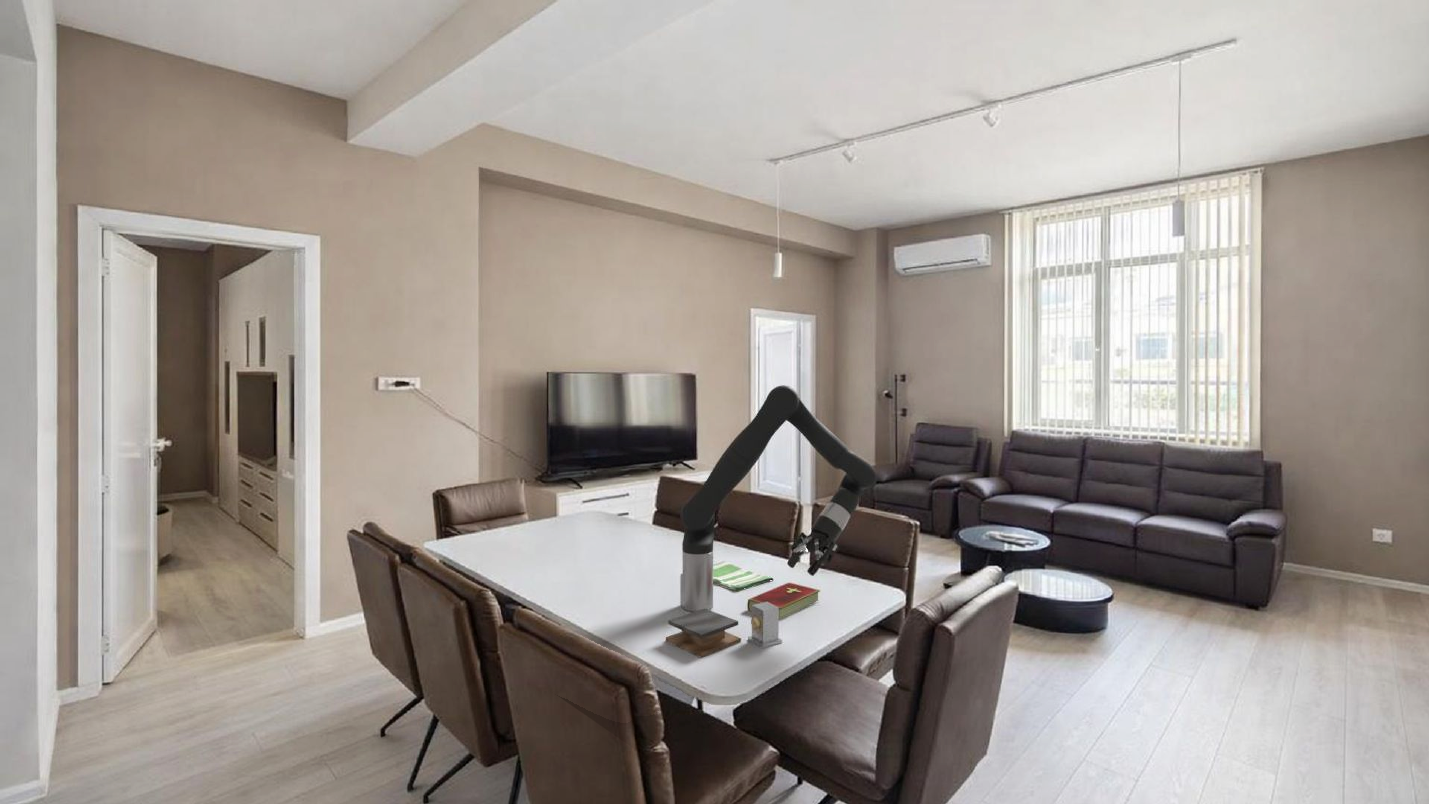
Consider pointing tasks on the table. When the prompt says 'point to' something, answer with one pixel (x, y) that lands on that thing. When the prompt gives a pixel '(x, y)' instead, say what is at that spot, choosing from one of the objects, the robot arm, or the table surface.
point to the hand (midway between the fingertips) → (799, 570)
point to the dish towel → (736, 577)
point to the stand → (703, 632)
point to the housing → (765, 625)
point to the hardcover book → (787, 598)
